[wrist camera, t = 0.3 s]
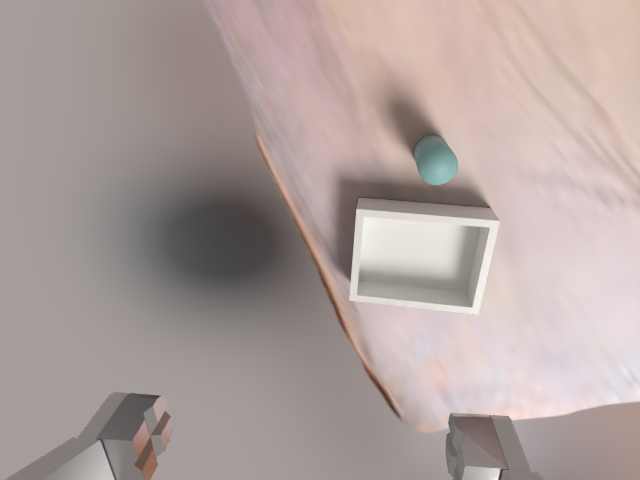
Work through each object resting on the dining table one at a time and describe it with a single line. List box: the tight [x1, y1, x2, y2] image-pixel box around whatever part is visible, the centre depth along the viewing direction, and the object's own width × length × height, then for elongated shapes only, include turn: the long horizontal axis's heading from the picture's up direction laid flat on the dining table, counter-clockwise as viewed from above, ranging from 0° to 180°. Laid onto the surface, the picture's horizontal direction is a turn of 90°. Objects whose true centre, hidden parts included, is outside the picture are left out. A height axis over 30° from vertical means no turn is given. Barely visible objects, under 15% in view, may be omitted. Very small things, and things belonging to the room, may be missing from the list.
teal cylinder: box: [414, 135, 458, 185], centre depth 51 cm, size 4×4×8 cm
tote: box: [349, 197, 500, 315], centre depth 58 cm, size 14×18×5 cm
